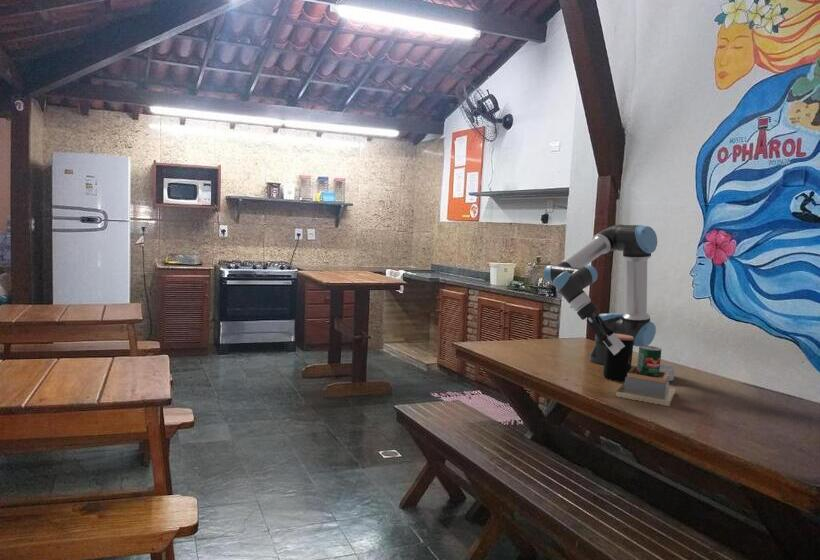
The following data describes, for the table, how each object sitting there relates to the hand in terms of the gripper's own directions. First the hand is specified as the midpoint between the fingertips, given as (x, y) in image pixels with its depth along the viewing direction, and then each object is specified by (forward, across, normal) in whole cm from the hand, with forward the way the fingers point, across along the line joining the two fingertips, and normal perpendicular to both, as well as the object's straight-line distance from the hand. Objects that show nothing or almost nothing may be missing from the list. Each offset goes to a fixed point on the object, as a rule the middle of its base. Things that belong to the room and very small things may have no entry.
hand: (619, 350), depth 229 cm
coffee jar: (+9, -20, -12) cm, 25 cm away
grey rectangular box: (+18, 0, -3) cm, 19 cm away
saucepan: (+18, -30, -4) cm, 35 cm away
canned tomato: (+14, 0, +2) cm, 14 cm away
